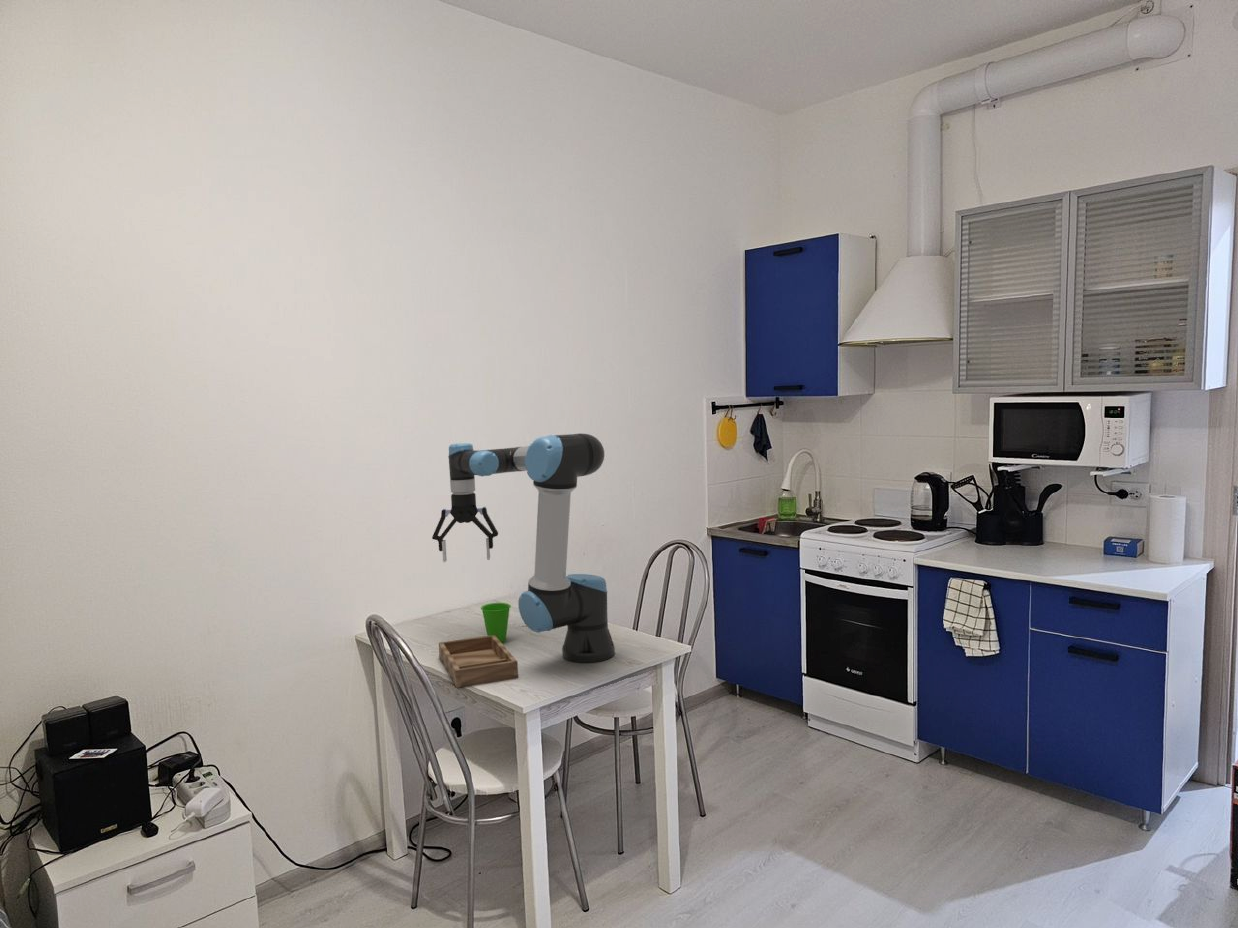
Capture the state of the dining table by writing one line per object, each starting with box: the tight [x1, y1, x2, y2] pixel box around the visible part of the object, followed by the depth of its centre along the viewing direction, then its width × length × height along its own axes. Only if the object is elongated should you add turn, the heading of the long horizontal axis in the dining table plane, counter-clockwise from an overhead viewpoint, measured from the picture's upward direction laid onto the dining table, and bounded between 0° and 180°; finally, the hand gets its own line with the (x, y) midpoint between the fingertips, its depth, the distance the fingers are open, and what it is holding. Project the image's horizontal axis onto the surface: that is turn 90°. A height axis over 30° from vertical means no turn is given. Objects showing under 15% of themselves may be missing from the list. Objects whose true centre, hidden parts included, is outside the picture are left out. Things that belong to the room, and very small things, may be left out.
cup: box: [480, 602, 512, 644], centre depth 249 cm, size 9×9×11 cm
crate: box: [438, 635, 519, 689], centre depth 227 cm, size 26×16×4 cm, turn 22°
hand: (466, 560), depth 256 cm, fingers open, 13 cm apart
